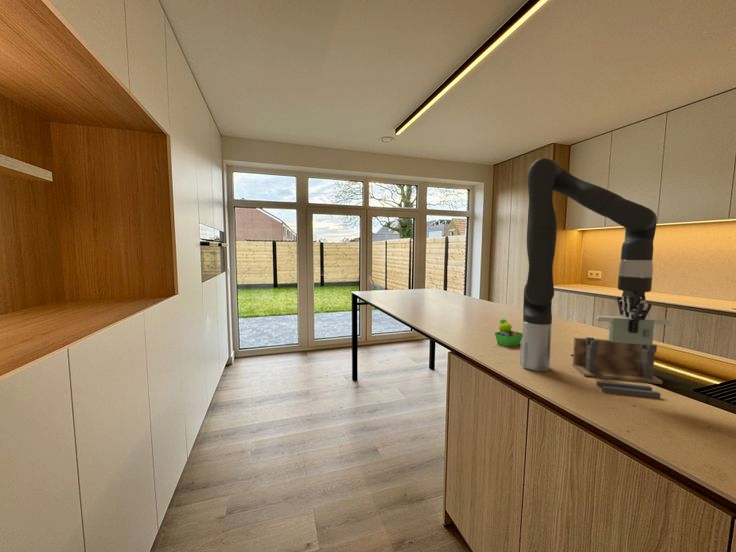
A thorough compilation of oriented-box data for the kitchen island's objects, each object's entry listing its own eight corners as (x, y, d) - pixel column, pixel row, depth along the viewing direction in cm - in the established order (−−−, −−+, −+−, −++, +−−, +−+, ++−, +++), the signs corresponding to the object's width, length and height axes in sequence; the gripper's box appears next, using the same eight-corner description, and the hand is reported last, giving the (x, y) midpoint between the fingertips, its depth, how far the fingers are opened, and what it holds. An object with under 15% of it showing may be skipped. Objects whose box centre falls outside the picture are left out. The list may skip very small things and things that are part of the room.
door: (599, 341, 90) (601, 317, 89) (595, 339, 93) (596, 315, 92) (672, 347, 85) (675, 320, 84) (666, 344, 87) (668, 318, 87)
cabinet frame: (583, 376, 101) (585, 340, 100) (572, 365, 111) (574, 333, 110) (662, 384, 95) (665, 346, 94) (643, 372, 105) (646, 337, 104)
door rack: (603, 392, 90) (604, 387, 90) (596, 385, 95) (596, 380, 95) (660, 398, 86) (660, 393, 86) (649, 390, 91) (649, 386, 91)
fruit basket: (506, 348, 132) (507, 323, 131) (491, 342, 140) (491, 319, 139) (524, 344, 136) (525, 320, 135) (508, 339, 144) (509, 317, 144)
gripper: (608, 273, 95) (604, 325, 97) (633, 276, 82) (628, 337, 83) (636, 273, 93) (632, 327, 94) (666, 277, 80) (661, 339, 81)
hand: (630, 331), depth 89 cm, fingers closed on door, 2 cm apart
